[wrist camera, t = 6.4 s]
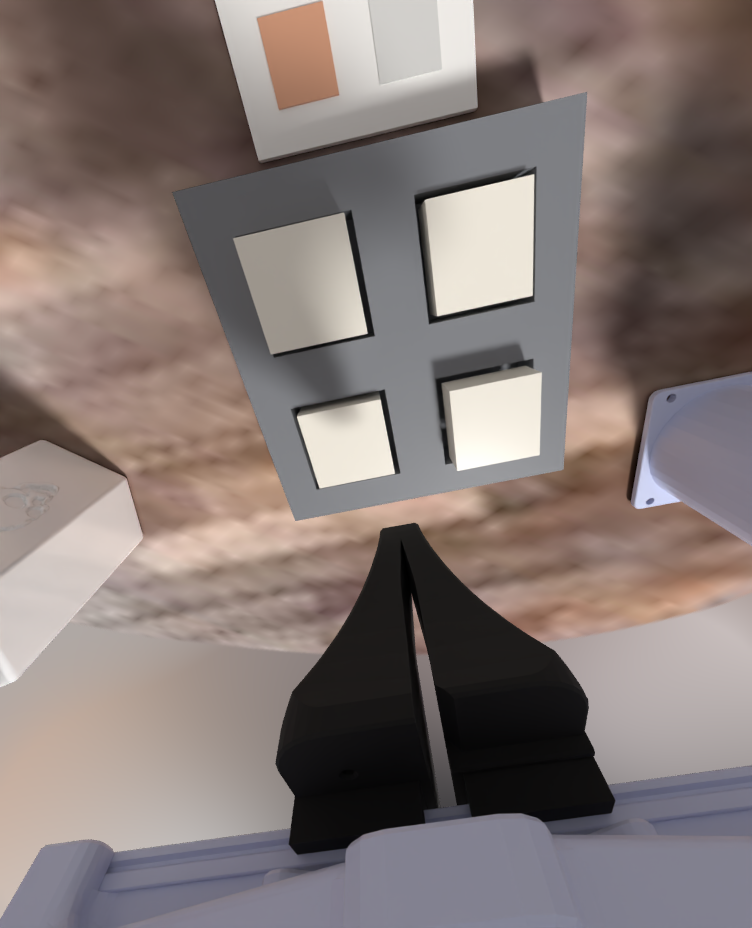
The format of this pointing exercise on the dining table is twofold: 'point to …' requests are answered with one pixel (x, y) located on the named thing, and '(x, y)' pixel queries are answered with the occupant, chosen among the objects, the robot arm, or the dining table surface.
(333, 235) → the button
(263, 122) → the card
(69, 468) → the jar
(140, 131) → the dining table surface
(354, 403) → the button
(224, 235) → the button board
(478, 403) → the button
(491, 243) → the button
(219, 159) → the dining table surface
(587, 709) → the robot arm
